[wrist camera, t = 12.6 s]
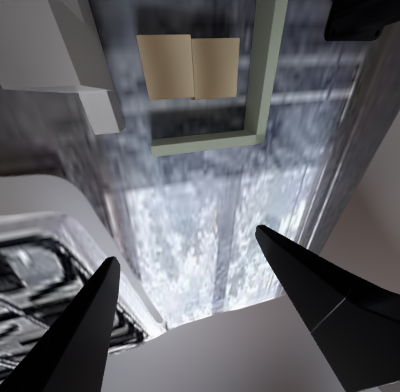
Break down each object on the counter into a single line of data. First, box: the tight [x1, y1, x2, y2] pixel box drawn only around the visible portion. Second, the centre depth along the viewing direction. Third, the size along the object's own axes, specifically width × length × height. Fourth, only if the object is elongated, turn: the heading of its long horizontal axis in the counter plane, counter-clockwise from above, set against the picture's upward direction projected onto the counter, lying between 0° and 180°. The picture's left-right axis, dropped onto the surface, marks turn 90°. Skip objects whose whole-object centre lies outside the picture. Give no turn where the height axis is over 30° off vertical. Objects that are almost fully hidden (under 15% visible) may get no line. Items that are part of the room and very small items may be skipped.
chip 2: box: [191, 38, 240, 100], centre depth 14 cm, size 4×4×2 cm
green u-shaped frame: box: [151, 0, 288, 157], centre depth 13 cm, size 12×14×3 cm
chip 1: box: [136, 35, 195, 100], centre depth 13 cm, size 4×4×2 cm
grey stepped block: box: [0, 0, 126, 135], centre depth 10 cm, size 3×9×9 cm, turn 3°
